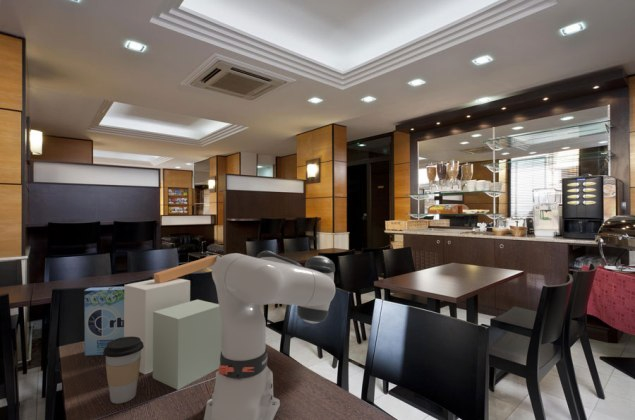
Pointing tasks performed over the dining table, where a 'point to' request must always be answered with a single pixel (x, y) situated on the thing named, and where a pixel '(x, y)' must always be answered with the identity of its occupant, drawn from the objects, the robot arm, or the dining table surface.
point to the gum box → (103, 317)
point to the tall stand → (150, 311)
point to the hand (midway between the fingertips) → (212, 257)
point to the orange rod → (184, 269)
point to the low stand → (186, 342)
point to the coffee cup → (123, 367)
